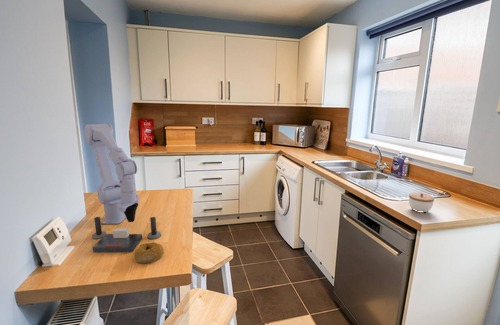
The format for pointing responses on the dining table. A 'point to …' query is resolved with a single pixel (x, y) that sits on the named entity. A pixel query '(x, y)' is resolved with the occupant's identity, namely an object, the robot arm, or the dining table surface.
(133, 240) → the breaker block
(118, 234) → the breaker paddle
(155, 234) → the cable post
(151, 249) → the bagel
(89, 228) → the dining table surface
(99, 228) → the cable post
